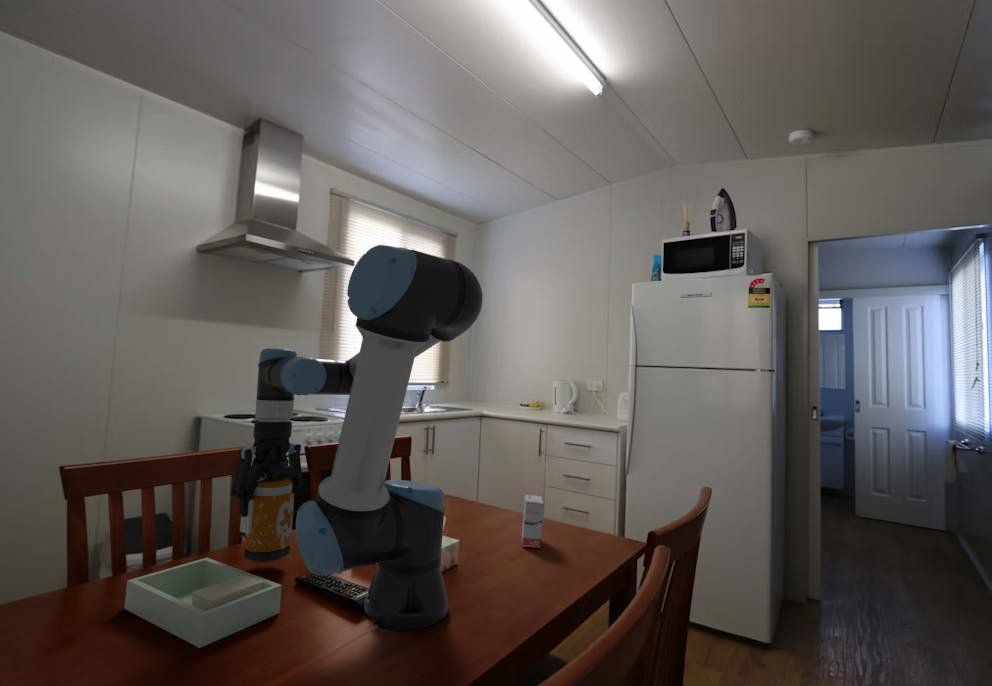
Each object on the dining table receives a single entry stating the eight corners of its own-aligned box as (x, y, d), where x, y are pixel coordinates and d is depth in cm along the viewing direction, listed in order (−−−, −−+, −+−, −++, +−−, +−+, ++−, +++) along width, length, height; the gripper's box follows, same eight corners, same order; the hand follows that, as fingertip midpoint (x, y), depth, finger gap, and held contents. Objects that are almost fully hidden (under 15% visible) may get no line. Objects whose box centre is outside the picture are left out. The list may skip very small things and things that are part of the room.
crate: (279, 617, 88) (281, 585, 89) (199, 653, 76) (202, 615, 77) (204, 586, 99) (207, 557, 99) (123, 613, 87) (127, 580, 87)
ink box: (541, 549, 132) (544, 502, 133) (522, 548, 132) (524, 501, 133) (539, 538, 140) (541, 495, 141) (521, 537, 140) (523, 494, 141)
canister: (272, 566, 102) (280, 464, 103) (224, 560, 104) (232, 461, 106) (298, 552, 110) (304, 459, 112) (253, 547, 113) (260, 456, 114)
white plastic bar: (260, 615, 87) (262, 581, 88) (207, 637, 79) (211, 600, 80) (241, 607, 90) (244, 574, 90) (188, 627, 82) (191, 592, 82)
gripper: (302, 417, 121) (295, 514, 119) (215, 420, 102) (205, 535, 100) (324, 419, 117) (318, 519, 115) (238, 423, 99) (229, 542, 97)
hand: (265, 526), depth 108 cm, fingers closed on canister, 9 cm apart
